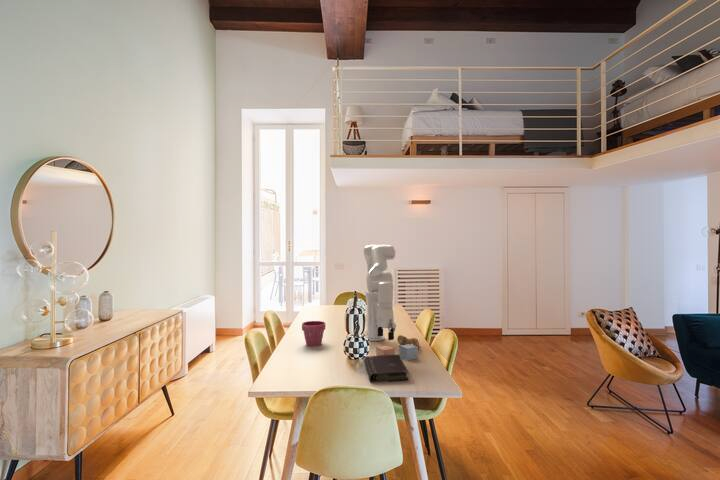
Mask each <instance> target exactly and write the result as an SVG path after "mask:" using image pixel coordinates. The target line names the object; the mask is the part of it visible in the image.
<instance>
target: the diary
mask: <svg viewBox="0 0 720 480" xmlns="http://www.w3.org/2000/svg"><path fill="white" fill-rule="evenodd" d="M402 359H403V358H400V356H399V354H395V355H378V356H376V355H370V356H365V357H364V359H363V360H364V361H363V363H364V365H365V369H366V373H367V375H368V380H369V382H370V383H372V378H373V381H374V382H375V383H376V382H388V383H393V382H396V383H397V382H398V383H399V382H400V383H401V382H407V381H409V378H408V377H407V374H409V373H410V372H409V370H408V369H407V367H406V365H405V363H404V361H403V360H402Z"/></svg>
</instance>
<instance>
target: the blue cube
mask: <svg viewBox="0 0 720 480" xmlns="http://www.w3.org/2000/svg"><path fill="white" fill-rule="evenodd" d="M417 349H418V347H417V346H413V344H406V345H399V346H398V355H399V356H400V358H401V359H403V360H405V361H411V360H415V359H418V354H419V353H418V350H417Z"/></svg>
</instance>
